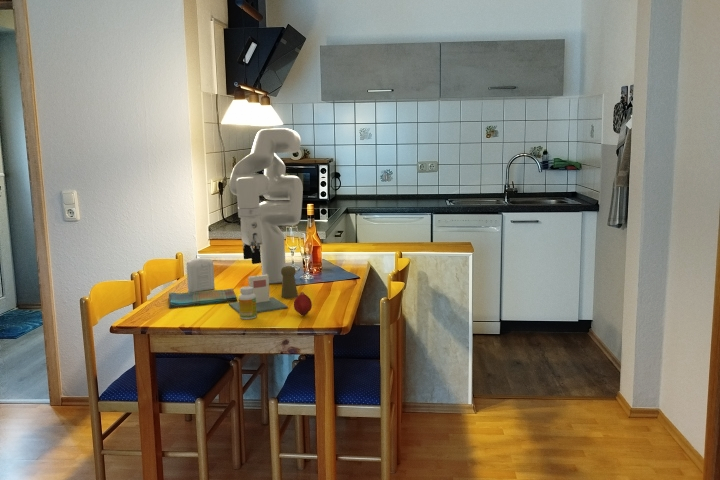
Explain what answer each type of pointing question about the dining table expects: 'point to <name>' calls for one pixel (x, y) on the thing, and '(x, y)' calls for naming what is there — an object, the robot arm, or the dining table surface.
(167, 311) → the dining table surface
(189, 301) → the dish towel
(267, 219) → the robot arm
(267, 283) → the card box
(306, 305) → the onion
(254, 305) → the supplement bottle
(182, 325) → the dining table surface
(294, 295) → the pepper shaker
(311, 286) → the dining table surface
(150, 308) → the dining table surface
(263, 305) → the mat
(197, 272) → the photo printer
